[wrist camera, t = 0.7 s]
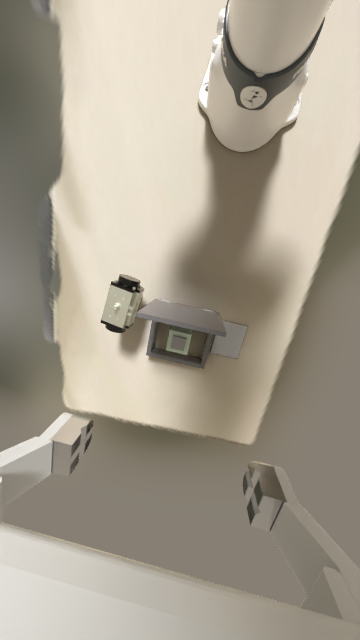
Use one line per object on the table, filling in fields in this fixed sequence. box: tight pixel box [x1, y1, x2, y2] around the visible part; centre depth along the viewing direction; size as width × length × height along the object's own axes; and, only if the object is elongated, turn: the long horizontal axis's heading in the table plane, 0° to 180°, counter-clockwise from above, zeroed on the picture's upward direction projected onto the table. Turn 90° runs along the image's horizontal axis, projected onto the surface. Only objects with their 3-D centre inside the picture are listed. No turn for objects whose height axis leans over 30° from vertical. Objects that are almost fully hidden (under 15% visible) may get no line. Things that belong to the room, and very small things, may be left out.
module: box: [166, 325, 193, 355], centre depth 46 cm, size 5×5×8 cm
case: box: [136, 299, 227, 369], centre depth 42 cm, size 15×15×17 cm
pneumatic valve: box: [101, 274, 144, 333], centre depth 43 cm, size 6×12×12 cm, turn 159°
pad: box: [211, 321, 248, 359], centre depth 49 cm, size 9×7×1 cm
